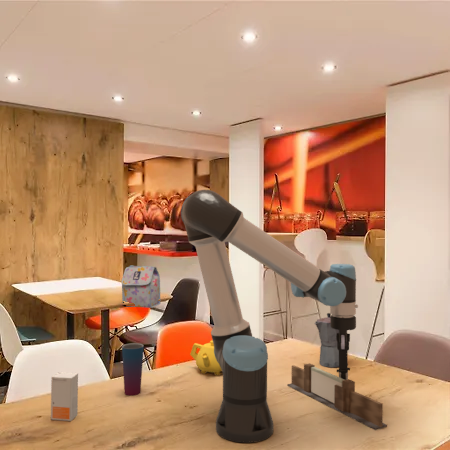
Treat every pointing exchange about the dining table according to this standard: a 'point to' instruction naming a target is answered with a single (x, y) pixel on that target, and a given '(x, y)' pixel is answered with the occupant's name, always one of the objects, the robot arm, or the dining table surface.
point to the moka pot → (328, 343)
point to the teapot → (206, 358)
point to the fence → (342, 398)
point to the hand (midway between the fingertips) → (343, 392)
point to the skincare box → (64, 396)
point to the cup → (132, 368)
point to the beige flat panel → (324, 383)
